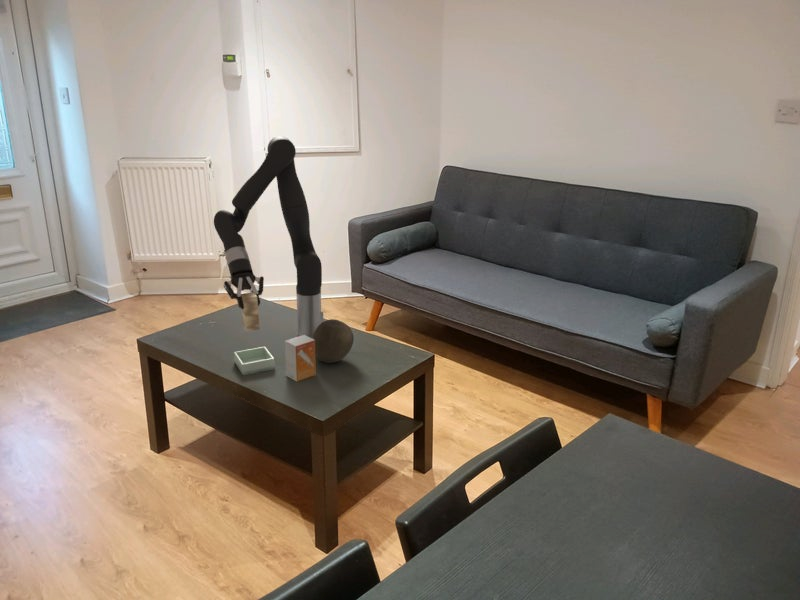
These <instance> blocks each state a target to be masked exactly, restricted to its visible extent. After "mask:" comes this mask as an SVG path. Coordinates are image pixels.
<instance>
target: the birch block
mask: <svg viewBox="0 0 800 600" xmlns="http://www.w3.org/2000/svg"><path fill="white" fill-rule="evenodd" d="M241 297H242V301H243V304H244V309H241V322H242V328H243V330H244V331H245V332H246V333H247V332H253V331H258V330H260V318H259V316H260V315H259V307H258V300H257V295H256V294H255V293H254V292H246V293H241Z"/></svg>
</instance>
